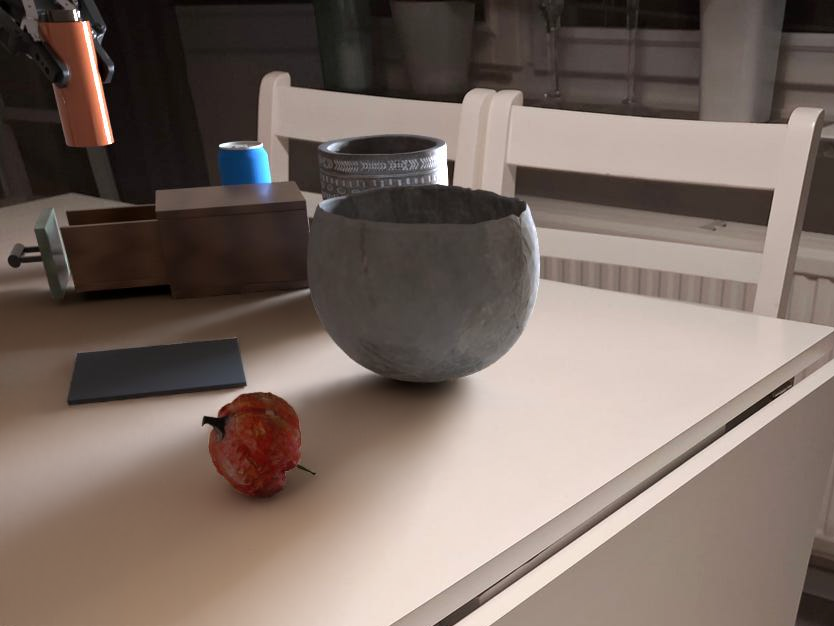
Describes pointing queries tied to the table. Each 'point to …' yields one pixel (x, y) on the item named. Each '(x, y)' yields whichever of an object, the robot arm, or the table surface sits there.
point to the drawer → (98, 249)
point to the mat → (156, 370)
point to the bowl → (423, 278)
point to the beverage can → (243, 163)
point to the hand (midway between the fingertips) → (87, 78)
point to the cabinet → (234, 238)
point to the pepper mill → (78, 80)
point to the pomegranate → (255, 443)
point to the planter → (380, 163)
